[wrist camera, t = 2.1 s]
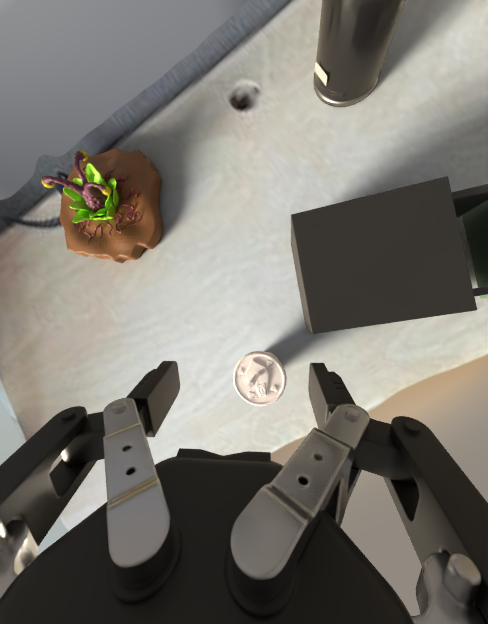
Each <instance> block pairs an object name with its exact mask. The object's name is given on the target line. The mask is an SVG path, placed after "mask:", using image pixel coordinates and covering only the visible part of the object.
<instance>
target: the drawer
mask: <svg viewBox="0 0 488 624" xmlns="http://www.w3.org/2000/svg"><path fill="white" fill-rule="evenodd" d="M451 194H452V198H453V203H454V207H455V212H456V216H457V218H458V217H460V216H462V217H463V222H464V226H465V231H466V235H467V240H468V244H469V249H470V253H471V258H472V262H473V267H474V271H475V276H476V280H477V285H478V288H474V289H473V293H474V296H480V298H481V299H485V298H488V184H487V185H482V186H478V187H474V188H470V189H465V190H461V191H457V192H452V193H451Z"/></svg>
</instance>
